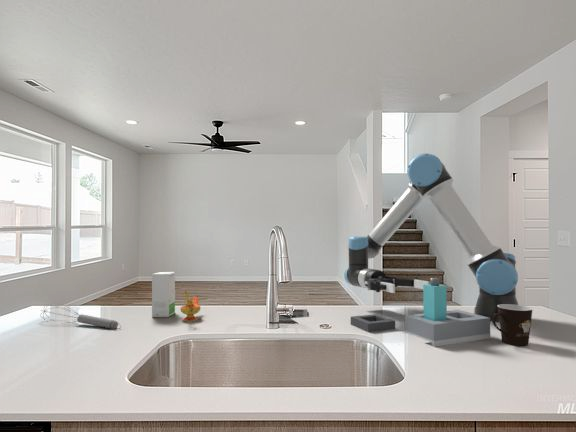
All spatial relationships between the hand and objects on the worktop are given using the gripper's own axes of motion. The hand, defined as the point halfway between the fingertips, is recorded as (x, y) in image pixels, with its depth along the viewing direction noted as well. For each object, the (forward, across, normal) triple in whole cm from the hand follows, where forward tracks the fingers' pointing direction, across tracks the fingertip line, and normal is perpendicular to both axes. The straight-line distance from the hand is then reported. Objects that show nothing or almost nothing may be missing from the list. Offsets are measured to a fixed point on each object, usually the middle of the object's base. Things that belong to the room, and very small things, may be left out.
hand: (411, 287), depth 124 cm
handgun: (-31, +30, -14) cm, 45 cm away
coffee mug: (+21, -16, -14) cm, 30 cm away
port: (+10, -4, -14) cm, 17 cm away
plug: (+10, 0, -12) cm, 16 cm away
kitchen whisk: (-47, +98, -13) cm, 110 cm away
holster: (-5, +12, -13) cm, 18 cm away
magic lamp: (-42, +62, -13) cm, 76 cm away
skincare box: (-51, +71, -13) cm, 89 cm away
